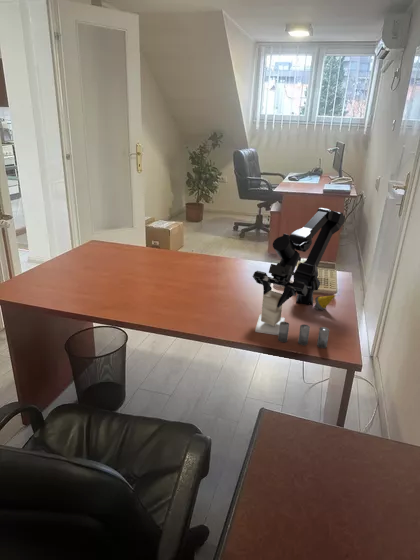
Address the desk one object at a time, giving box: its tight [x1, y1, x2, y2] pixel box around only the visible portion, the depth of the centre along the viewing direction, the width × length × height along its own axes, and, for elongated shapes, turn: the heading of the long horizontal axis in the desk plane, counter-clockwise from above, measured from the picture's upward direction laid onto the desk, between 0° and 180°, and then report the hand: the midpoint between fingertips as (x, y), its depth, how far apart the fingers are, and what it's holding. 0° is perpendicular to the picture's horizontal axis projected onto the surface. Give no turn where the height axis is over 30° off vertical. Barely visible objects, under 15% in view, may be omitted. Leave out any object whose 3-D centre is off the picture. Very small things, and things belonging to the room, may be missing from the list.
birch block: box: [261, 289, 283, 326], centre depth 137 cm, size 5×5×10 cm
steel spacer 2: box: [316, 326, 330, 349], centre depth 127 cm, size 3×3×6 cm
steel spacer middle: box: [297, 323, 311, 346], centre depth 128 cm, size 3×3×6 cm
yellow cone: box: [313, 294, 336, 311], centre depth 151 cm, size 5×5×10 cm
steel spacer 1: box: [277, 321, 290, 343], centre depth 129 cm, size 3×3×6 cm
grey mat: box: [254, 313, 286, 336], centre depth 139 cm, size 12×9×1 cm
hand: (270, 304), depth 135 cm, fingers closed on birch block, 5 cm apart
